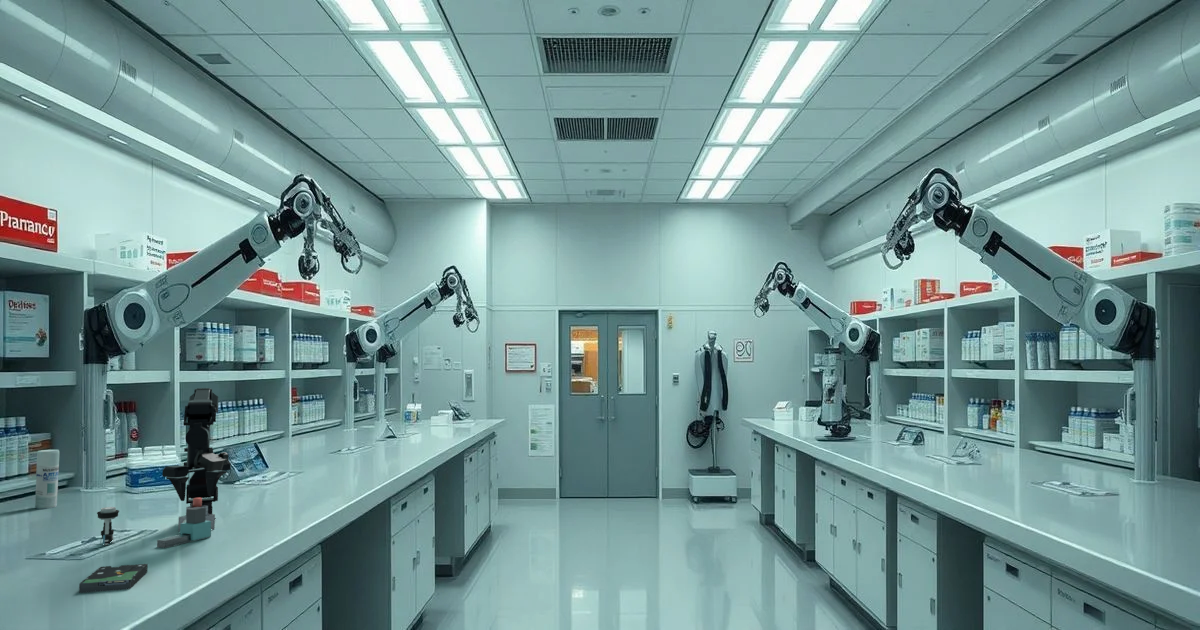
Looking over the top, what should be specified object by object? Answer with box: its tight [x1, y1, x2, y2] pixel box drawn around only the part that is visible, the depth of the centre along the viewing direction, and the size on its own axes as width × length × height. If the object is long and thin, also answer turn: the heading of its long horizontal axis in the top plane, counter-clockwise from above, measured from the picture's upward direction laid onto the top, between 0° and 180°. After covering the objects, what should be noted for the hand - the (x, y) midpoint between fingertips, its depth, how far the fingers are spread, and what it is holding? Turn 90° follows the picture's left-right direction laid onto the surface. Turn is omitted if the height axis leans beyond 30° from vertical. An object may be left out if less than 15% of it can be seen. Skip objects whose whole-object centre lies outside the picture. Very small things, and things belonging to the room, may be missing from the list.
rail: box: [156, 533, 212, 549], centre depth 218 cm, size 15×3×2 cm, turn 157°
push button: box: [96, 506, 120, 546], centre depth 215 cm, size 7×5×10 cm
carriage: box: [179, 507, 212, 542], centre depth 221 cm, size 6×5×8 cm
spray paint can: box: [34, 449, 61, 510], centre depth 271 cm, size 6×6×20 cm
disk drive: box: [78, 563, 149, 594], centre depth 178 cm, size 10×3×15 cm
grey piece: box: [177, 505, 216, 533], centre depth 233 cm, size 7×7×7 cm
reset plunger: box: [193, 497, 202, 507], centre depth 233 cm, size 2×2×2 cm
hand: (196, 498), depth 221 cm, fingers open, 9 cm apart
